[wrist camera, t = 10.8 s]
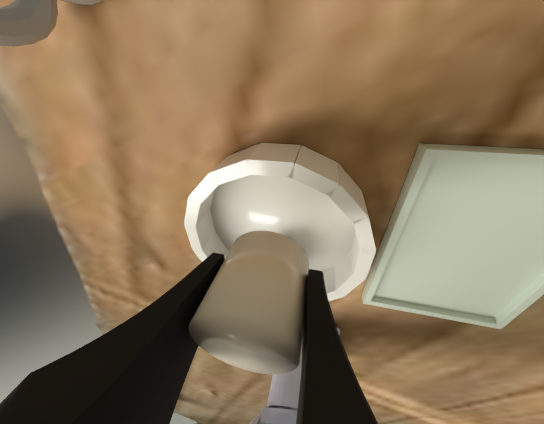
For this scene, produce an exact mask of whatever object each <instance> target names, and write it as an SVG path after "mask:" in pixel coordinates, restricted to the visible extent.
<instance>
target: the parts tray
mask: <svg viewBox="0 0 544 424" xmlns="http://www.w3.org/2000/svg"><path fill="white" fill-rule="evenodd" d="M542 295H544V149H529V148H508V147H487V146H465V145H444V144H423V143H419V145H418V148H417V150H416V153H415V156H414V158H413V161H412V163H411V166H410V169H409V171H408V174H407V176H406V179H405V182H404V184H403V187H402V190H401V192H400V195H399V197H398V200H397V203H396V205H395V208H394V210H393V213H392V216H391V218H390V221H389V223H388V226H387V229H386V231H385V234H384V236H383V239H382V242H381V244H380V247H379V249H378V252H377V255H376V257H375V260H374V262H373V265H372V268H371V270H370V273H369V275H368V278H367V281H366V283H365V286H364V288H363V291H362V300H363V303H364V304H369V305H374V306H379V307H385V308H390V309H395V310H401V311H406V312H411V313H417V314H422V315H427V316H432V317H438V318H443V319H448V320H454V321H459V322H464V323H470V324H475V325H480V326H485V327H491V328H496V329H502V328H503V327H505V326H506V325H507V324H508V323H509V322H511V321H512V320H513V319H514V318H516V317H517V316H518V315H519V314H520V313H522V312H523V311H524V310H525V309H527V308H528V307H529V306H530V305H531V304H533V303H534V302H535V301H536V300H537V299H539V298H540V297H541V296H542Z"/></svg>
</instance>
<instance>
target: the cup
mask: <svg viewBox="0 0 544 424" xmlns="http://www.w3.org/2000/svg"><path fill="white" fill-rule="evenodd" d="M61 1H66V2H71V3H75V4H82V5H93V4H95V3H98V2H100V1H102V0H61ZM57 14H58V10H57V0H14V2H12V3H11V4H10V5H8V6H5V7H1V8H0V45H1V46H20V45H28V44H34V43H36V42H38V41H40V40H42V39H45V38H47V37H48V35H49V34H50V33H51V31H52V30H53V29H54V27H55V25H56V20H57Z"/></svg>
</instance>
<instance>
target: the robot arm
mask: <svg viewBox="0 0 544 424" xmlns="http://www.w3.org/2000/svg"><path fill="white" fill-rule="evenodd" d="M224 260H225V258H224V254H219V253H212V254H211V255H210V256H208V257H207V258H206V259H205V260H204V261H203V262H202V263H201V264H199V265H198V266H197V267H196V268H195V269H194V270H193V271H192V272H190V273H189V274H188V275H187V276H186V277H185V278H183V279H182V280H181V281H180V282H179V283H177V284H176V285H175V286H174V287H173V288H171V289H170V290H169V291H167V292H166V293H165V294H164V295H162V296H161V297H160V298H159V299H157V300H156V301H155V302H153V303H152V304H150V305H149V306H148V307H146V308H145V309H143V310H142V311H140V312H139V313H138V314H136V315H135V316H133V317H131V318H130V319H128V320H127V321H125V322H124V323H122V324H121V325H119V326H117V327H116V328H114V329H113V330H111V331H109V332H108V333H106V334H104V335H102V336H101V337H99V338H97V339H95V340H94V341H92V342H90V343H88V344H86V345H85V346H83V347H81V348H79V349H77V350H76V351H74V352H72V353H70V354H68V355H66V356H64V357H62V358H60V359H58V360H56V361H54V362H52V363H50V364H48V365H46V366H44V367H42V368H40V369H38V370H36V371H34V372H32V373H30V374H29V375H28V376H27V377H26V378H25V379H24V380H23V381H22V382H21V383H20V384H19V385H18V386H17V387H16V388H15V389H14V390H13V391H12V392H11V393H10V394H9V395H8V396H7V397H6V399H4V400H3V401H2V402H1V403H0V424H169V423H170V420H171V417H172V414H173V412H174V409H175V406H176V403H177V400H178V397H179V395H180V392H181V389H182V386H183V384H184V381H185V378H186V376H187V373H188V370H189V368H190V365H191V363H192V360H193V358H194V355H195V353H196V350H197V348H198V344H197V343H196V342H195V341H194V339H193V338H192V337H191V335H190V332H189V324H190V322H191V320H192V318H193V317H194V315H195V313H196V311H197V309H198V307H199V306H200V304H201V302H202V300H203V298H204V296H205V295H206V293H207V291H208V289H209V287H210V285H211V284H212V282H213V280H214V278H215V276H216V275H217V273H218V271H219V269H220V267H221V265H222V264H223V262H224ZM339 335H340V329H339V328H337V327H336V324H335V321H334V318H333V315H332V311H331V308H330V305H329V301H328V297H327V292H326V288H325V282H324V274H323V272H322V271H319V270H313V269H309V270H308V278H307V287H306V303H305V315H304V325H303V335H302V344H301V354H300V363H299V366H298V367H297V368H296V369H295V370H293V371H291V372H289V373H285V374H273V377H272V383H271V388H270V394H269V399H268V404H267V407H264V406H263V408H262V413H261V415H259V414H258V415H256V416H255V417H254V419H253V420H252V421H251V422H250V423H249V424H378V423H377V421H376V419H375V417H374V414H373V412H372V410H371V408H370V406H369V404H368V402H367V400H366V398H365V396H364V394H363V392H362V390H361V387H360V385H359V383H358V381H357V378H356V376H355V374H354V372H353V369H352V367H351V364H350V362H349V360H348V357H347V355H346V352H345V350H344V347H343V344H342V342H341V339H340V336H339Z"/></svg>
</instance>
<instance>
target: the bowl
mask: <svg viewBox="0 0 544 424" xmlns="http://www.w3.org/2000/svg"><path fill="white" fill-rule="evenodd" d="M184 225H185V228H186V231H187V234H188V238H189V241H190V244H191V247H192V249H193V251H194V252H195V254H196V255H197V256H198V258H199V259H200V260H201V261H202V262H203V261H204V260H205V259H206V258H207V257H208V256H210V255H211V254H212V253H219V254H224V258H226V256H227V254H228V253H229V251H230V249H231V247H232V245H233V243H234V242H235V240H236V239H237V238H238V237H240V236H241V235H243V234H245V233H248V232H251V231H271V232H275V233H279V234H281V235H284V236H286V237H288V238H290V239H291V240H293V241H294V242H296V243H297V244H298V245H299V246H300V247H301V248H302V249H303V250H304V252H305V253H306V255H307V257H308V260H309V269H313V270H319V271H322V272H323V274H324V282H325V288H326V292H327V297H328V301H332V300H335V299H338V298H342V297H344V296H346V295H347V294H348V293H349V292H350V291H352V290H353V289H354V288H355V287H356V286H358V285H359V284H360V283H361V282H362V281H364V280H365V279H366V277H367V274H368V272H369V269H370V267H371V264H372V261H373V259H374V256H375V253H376V247H375V243H374V238H373V234H372V229H371V225H370V220H369V216H368V212H367V208H366V205H365V201H364V197H363V193H362V190H361V189H360V188H359V187H358V186H357V184H356V183H355V182H354V181H353V180H352V178H351V177H350V176H349V175H348V174H347V173H346V171H345V170H344V169H343V168H342V167H341V165H340V164H339V163H338V162H336V161H334V160H332V159H329V158H327V157H325V156H323V155H321V154H319V153H317V152H315V151H313V150H311V149H309V148H307V147H305V146H303V145H302V146H301V145H294V144H276V143H259V144H257V145H254V146H252V147H249V148H247V149H244V150H241V151H239V152H236V153H234V154H231V155H229V156H228V157H227V158H225V159H224V160H223V161H222V162H221V163H220V164H219V165H217V166H216V167H215V168H214V169H213V170H212V171H211V172H210V173H208V175H207V176H206V177H205V178H204V179H203V180H202V182H201V183H200V184H199V185H198V186H197V187H196V189H195V190H194V191H193V192H192V193H191V194H190V196H189V197H188V202H187V209H186V215H185V221H184Z"/></svg>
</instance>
